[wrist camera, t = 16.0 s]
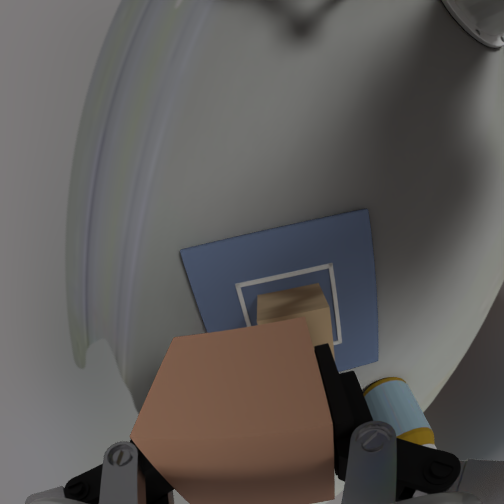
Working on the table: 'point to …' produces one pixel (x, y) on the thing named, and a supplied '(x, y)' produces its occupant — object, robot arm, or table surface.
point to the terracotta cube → (241, 418)
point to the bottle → (399, 410)
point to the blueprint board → (294, 278)
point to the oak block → (299, 311)
